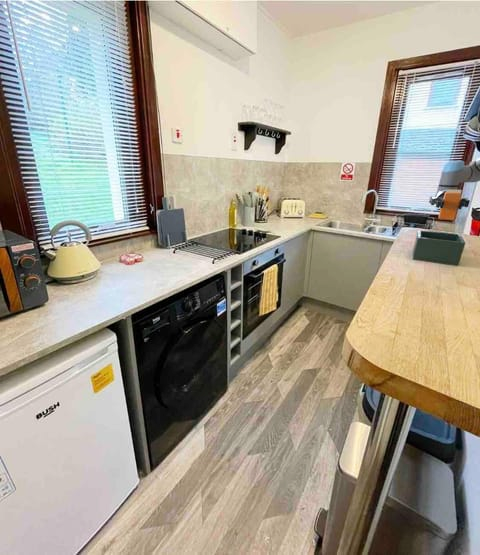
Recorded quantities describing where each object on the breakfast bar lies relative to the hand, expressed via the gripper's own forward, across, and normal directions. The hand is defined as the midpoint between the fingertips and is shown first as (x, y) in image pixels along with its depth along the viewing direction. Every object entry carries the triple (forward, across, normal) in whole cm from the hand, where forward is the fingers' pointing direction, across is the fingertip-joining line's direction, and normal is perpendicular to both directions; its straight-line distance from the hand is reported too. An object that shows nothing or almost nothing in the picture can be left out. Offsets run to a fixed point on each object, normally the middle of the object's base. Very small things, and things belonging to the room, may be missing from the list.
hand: (451, 205), depth 104 cm
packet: (-5, 0, -6) cm, 8 cm away
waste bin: (+20, +3, -16) cm, 26 cm away
